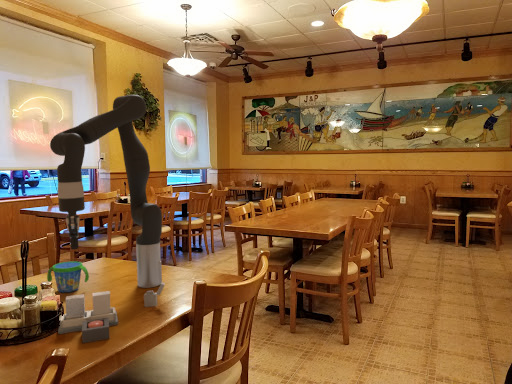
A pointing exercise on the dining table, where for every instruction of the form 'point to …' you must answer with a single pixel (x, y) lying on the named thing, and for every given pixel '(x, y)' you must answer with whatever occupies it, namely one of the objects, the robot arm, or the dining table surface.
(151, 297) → the lighter
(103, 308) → the grey slotted holder
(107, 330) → the button housing
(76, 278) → the snack cup
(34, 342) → the dining table surface
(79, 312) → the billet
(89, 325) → the button
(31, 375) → the dining table surface
